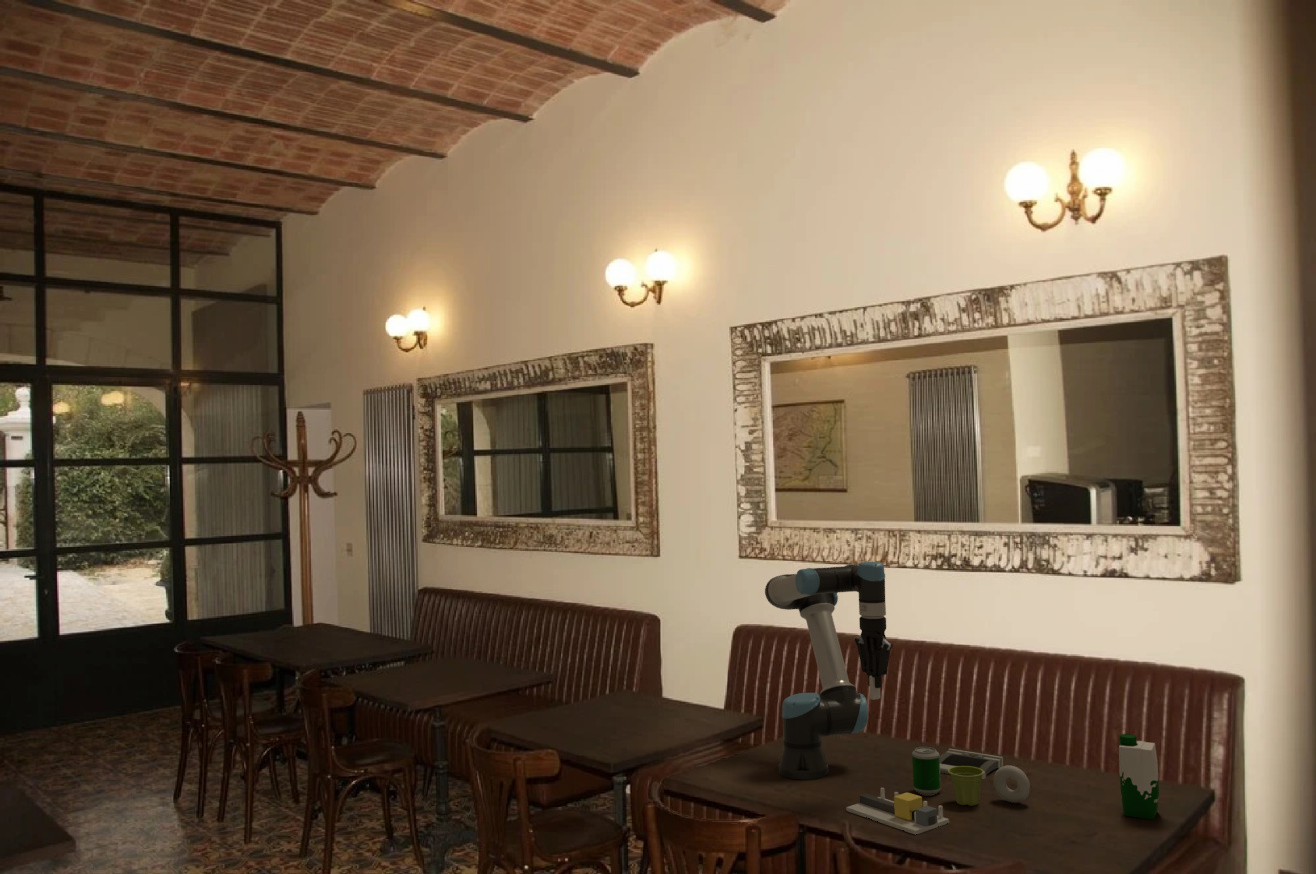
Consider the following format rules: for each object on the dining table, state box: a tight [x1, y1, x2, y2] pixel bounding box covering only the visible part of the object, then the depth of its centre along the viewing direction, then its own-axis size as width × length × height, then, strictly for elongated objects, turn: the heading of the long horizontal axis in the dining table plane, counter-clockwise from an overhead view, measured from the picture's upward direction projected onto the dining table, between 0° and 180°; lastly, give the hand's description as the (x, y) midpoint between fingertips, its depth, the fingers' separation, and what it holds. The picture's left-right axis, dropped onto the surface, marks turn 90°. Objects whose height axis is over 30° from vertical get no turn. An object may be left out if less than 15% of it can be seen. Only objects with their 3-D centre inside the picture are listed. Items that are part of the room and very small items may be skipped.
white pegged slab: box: [845, 787, 950, 836], centre depth 270 cm, size 24×13×5 cm, turn 35°
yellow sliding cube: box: [893, 792, 923, 820], centre depth 267 cm, size 5×5×5 cm
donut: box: [992, 765, 1031, 804], centre depth 278 cm, size 10×3×10 cm, turn 49°
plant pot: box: [948, 766, 984, 807], centre depth 280 cm, size 9×9×9 cm
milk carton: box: [1118, 733, 1160, 820], centre depth 266 cm, size 9×9×20 cm
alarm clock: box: [939, 748, 1004, 780], centre depth 310 cm, size 17×5×16 cm
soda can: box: [911, 746, 942, 796], centre depth 290 cm, size 8×8×12 cm
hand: (875, 698), depth 291 cm, fingers closed
